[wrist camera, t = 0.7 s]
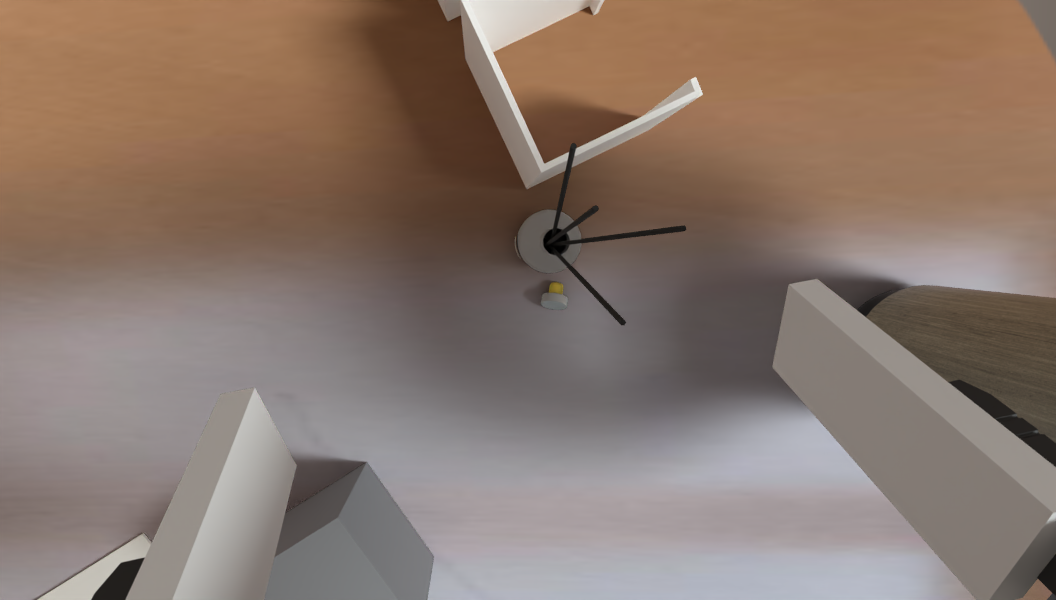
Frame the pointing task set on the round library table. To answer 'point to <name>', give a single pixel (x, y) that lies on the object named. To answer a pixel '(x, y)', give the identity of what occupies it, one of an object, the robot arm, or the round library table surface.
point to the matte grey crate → (350, 547)
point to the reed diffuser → (564, 245)
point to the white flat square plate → (99, 572)
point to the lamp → (980, 342)
